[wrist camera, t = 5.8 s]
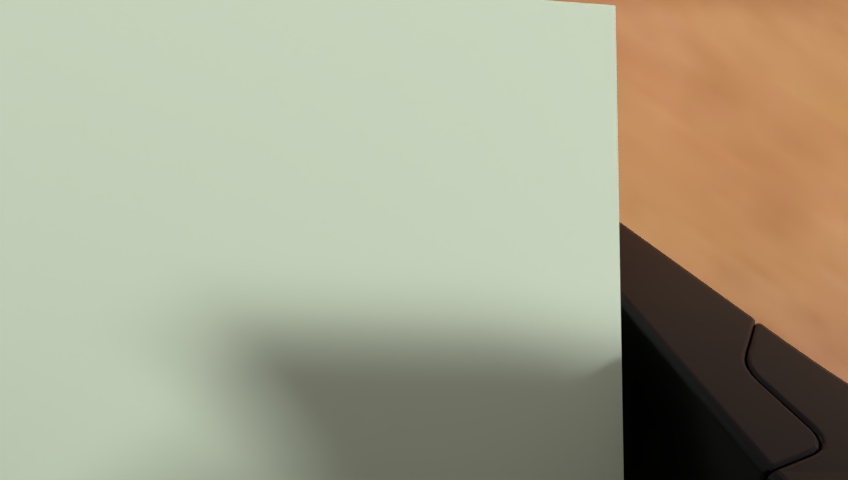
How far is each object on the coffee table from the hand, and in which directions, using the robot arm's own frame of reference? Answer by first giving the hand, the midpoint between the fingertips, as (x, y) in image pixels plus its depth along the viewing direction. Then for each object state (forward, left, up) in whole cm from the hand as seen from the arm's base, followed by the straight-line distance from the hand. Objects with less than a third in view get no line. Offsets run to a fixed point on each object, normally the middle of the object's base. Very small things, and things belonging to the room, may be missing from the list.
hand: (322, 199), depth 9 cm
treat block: (-2, 0, -7) cm, 7 cm away
